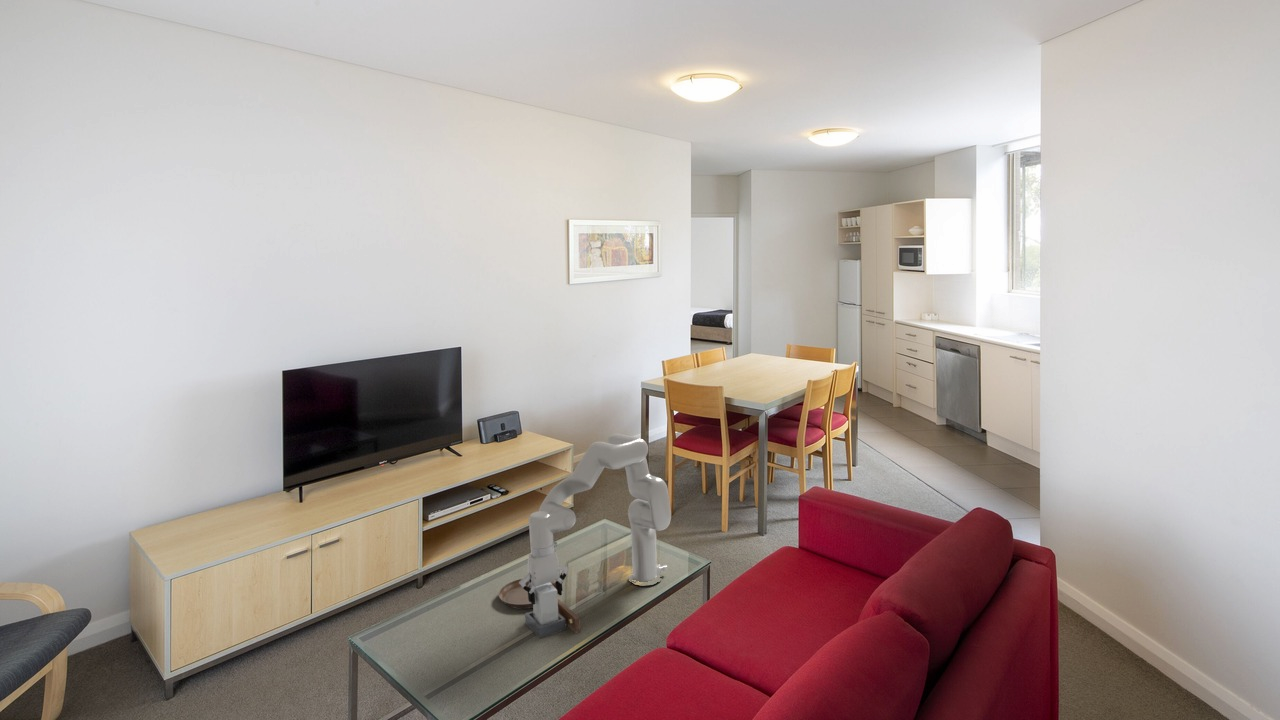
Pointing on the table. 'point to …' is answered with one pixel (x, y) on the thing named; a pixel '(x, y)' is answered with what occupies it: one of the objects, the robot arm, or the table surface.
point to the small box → (545, 604)
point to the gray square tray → (547, 628)
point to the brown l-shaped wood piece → (568, 615)
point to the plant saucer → (515, 595)
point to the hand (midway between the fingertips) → (545, 598)
